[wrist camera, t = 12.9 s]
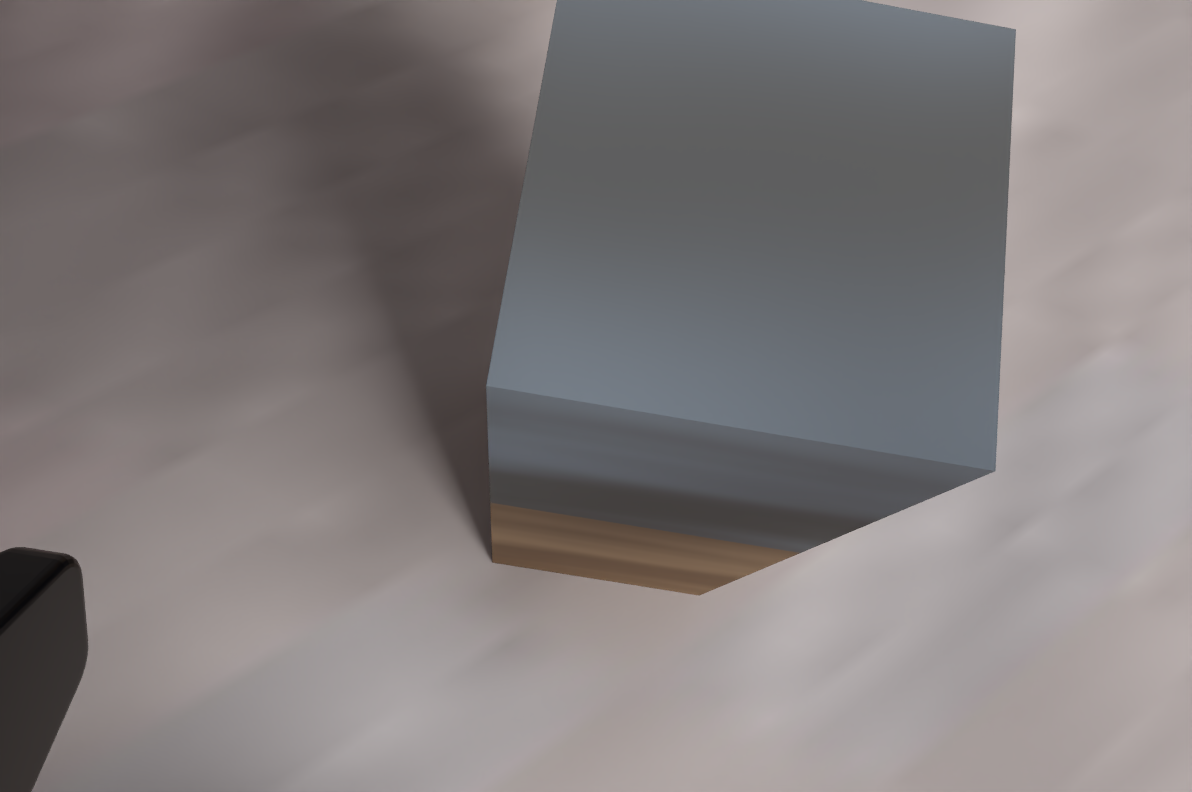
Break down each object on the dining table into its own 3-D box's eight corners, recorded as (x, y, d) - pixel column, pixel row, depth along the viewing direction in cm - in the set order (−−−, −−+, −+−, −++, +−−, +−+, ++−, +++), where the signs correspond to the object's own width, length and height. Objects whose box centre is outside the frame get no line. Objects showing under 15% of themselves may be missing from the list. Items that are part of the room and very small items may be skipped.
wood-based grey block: (699, 595, 20) (995, 470, 8) (492, 562, 20) (486, 385, 8) (723, 396, 21) (1016, 28, 9) (527, 362, 21) (568, -56, 9)
